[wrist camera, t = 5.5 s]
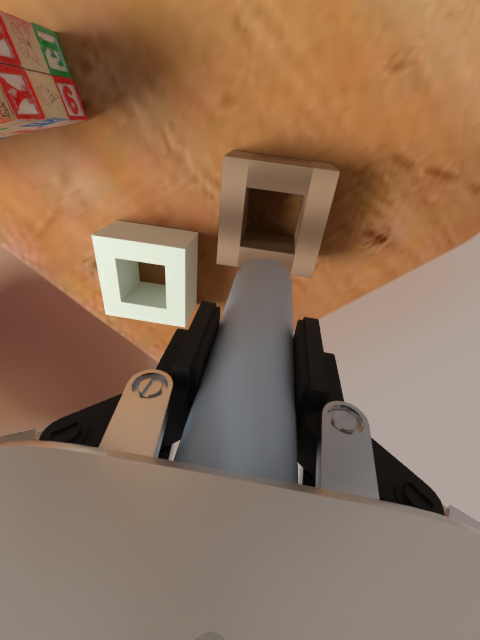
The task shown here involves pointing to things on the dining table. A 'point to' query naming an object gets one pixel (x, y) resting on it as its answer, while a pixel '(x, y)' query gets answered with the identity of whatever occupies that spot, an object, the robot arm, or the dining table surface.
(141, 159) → the dining table surface
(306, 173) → the brown wooden square ring
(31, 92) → the stack of blocks
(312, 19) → the dining table surface
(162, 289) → the white square hollow block
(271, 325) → the light blue rod
